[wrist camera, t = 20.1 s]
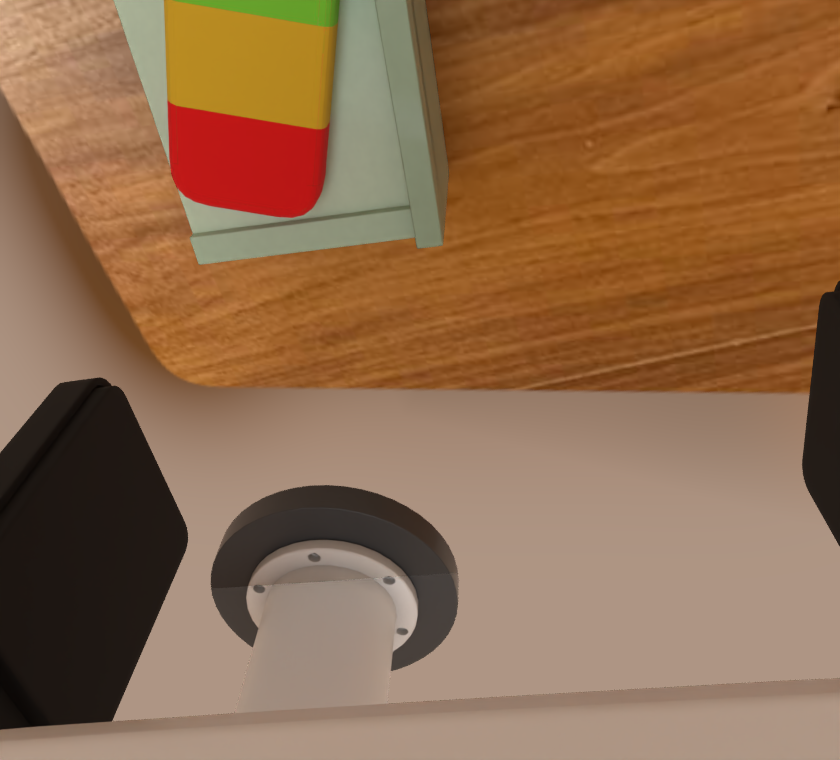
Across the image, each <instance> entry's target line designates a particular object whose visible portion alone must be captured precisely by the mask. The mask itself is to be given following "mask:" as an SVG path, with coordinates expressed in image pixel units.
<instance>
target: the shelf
mask: <svg viewBox="0 0 840 760" xmlns="http://www.w3.org/2000/svg"><path fill="white" fill-rule="evenodd" d="M114 3H115V6H116V9H117V12H118V15H119V18H120V21H121V24H122V27H123V30H124V32H125V35H126V38H127V41H128V44H129V47H130V50H131V53H132V56H133V59H134V62H135V65H136V68H137V71H138V74H139V77H140V80H141V83H142V85H143V88H144V91H145V94H146V97H147V100H148V103H149V106H150V109H151V112H152V115H153V118H154V121H155V124H156V127H157V130H158V133H159V136H160V138H161V141H162V144H163V147H164V150H165V153H166V156H167V159H168V162H169V165H170V161H169V135H168V106H167V78H166V49H165V21H164V0H114ZM170 168H171V167H170ZM448 179H449V168H448V160H447V153H446V146H445V139H444V132H443V124H442V117H441V110H440V103H439V95H438V88H437V81H436V74H435V66H434V59H433V52H432V45H431V38H430V30H429V23H428V16H427V9H426V1H425V0H340V4H339V16H338V28H337V41H336V53H335V65H334V77H333V89H332V101H331V114H330V126H329V138H328V150H327V162H326V175H325V180H324V185H323V190H322V193H321V195H320V197H319V199H318V200H317V202H316V204H315V206H314V207H313V208H312V209H311V210H310V211H309V212H307V213H306V214H304V215H302V216H298V217H294V218H285V217H274V216H267V215H261V214H255V213H249V212H243V211H237V210H231V209H225V208H218V207H212V206H208V205H204V204H200V203H197V202H194V201H192V200H191V199H189V198H187V197H185V196H184V195H183V194H182V193H181V192H180V191H179V189H178V188H177V189H178V191H179V194H180V197H181V200H182V203H183V206H184V209H185V212H186V215H187V218H188V221H189V224H190V227H191V230H192V233H193V234H192V236H191V237H190V240H191V243H192V246H193V249H194V252H195V255H196V258H197V261H198V264H199V265H201V264H209V263H217V262H225V261H233V260H241V259H249V258H257V257H265V256H273V255H281V254H289V253H297V252H305V251H313V250H321V249H329V248H337V247H345V246H353V245H361V244H369V243H377V242H385V241H393V240H400V239H408V238H415V240H416V246H417V248H418V249H419V248H427V247H435V246H442V245H443V239H444V227H445V215H446V203H447V191H448Z"/></svg>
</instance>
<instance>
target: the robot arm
mask: <svg viewBox="0 0 840 760" xmlns="http://www.w3.org/2000/svg"><path fill="white" fill-rule="evenodd" d="M802 468H803V476H804V480H805V483H806V486H807V489H808V491H809V493H810V495H811V496H812V498H813V500H814V502H815V503H816V505H817V507H818V509H819V511H820V512H821V514H822V516H823V518H824V519H825V521H826V523H827V525H828V526H829V528H830V530H831V532H832V534H833V535H834V537H835V539H836V541H837V543H838V544H839V546H840V281H839V282H838V283H837V285H836V287H835V291H834V292H826V293H824V294H823V295H822V298H821V300H820V305H819V313H818V322H817V331H816V341H815V350H814V359H813V368H812V377H811V386H810V396H809V405H808V414H807V423H806V433H805V442H804V451H803V460H802ZM187 543H188V532H187V527H186V524H185V522H184V519H183V517H182V515H181V513H180V511H179V509H178V507H177V504H176V502H175V500H174V498H173V496H172V494H171V492H170V490H169V488H168V485H167V483H166V481H165V479H164V477H163V475H162V473H161V470H160V468H159V466H158V464H157V462H156V460H155V458H154V455H153V453H152V451H151V449H150V447H149V445H148V443H147V441H146V438H145V436H144V434H143V432H142V430H141V428H140V426H139V424H138V421H137V419H136V417H135V415H134V413H133V411H132V409H131V407H130V404H129V402H128V400H127V398H126V396H125V394H124V392H123V391H122V390H121V389H120V388H119V387H117V386H111V384H110V383H109V382H108V381H107V380H105V379H103V378H93V379H86V380H78V381H70V382H64V383H60V384H59V385H57V386H56V387H55V388H54V389H53V390H52V392H51V393H50V394H49V395H48V397H47V398H46V399H45V400H44V401H43V402H42V404H41V405H40V406H39V407H38V408H37V410H36V411H35V412H34V413H33V414H32V416H31V417H30V418H29V419H28V420H27V422H26V423H25V424H24V425H23V426H22V428H21V429H20V430H19V431H18V432H17V434H16V435H15V436H14V437H13V438H12V439H11V441H10V442H9V443H8V444H7V446H6V447H5V448H4V449H3V450H2V451H1V453H0V760H840V678H835V679H811V680H789V681H771V682H754V683H735V684H718V685H701V686H683V687H664V688H648V689H647V688H646V689H628V690H610V691H593V692H576V693H557V694H539V695H522V696H506V697H489V698H474V699H456V700H440V701H423V702H407V703H391V704H387V702H388V701H387V700H388V692H389V682H390V673H391V664H392V654H393V651H395V650H396V649H397V648H399V647H400V646H402V645H403V644H404V643H405V642H406V641H407V639H408V638H409V637H410V636H411V634H412V632H413V630H414V628H415V626H416V622H417V617H418V598H417V593H416V590H415V588H414V586H413V584H412V582H411V580H410V579H409V577H408V576H407V575H406V574H405V573H404V571H403V570H402V569H401V568H400V567H399V566H397V565H396V564H395V563H394V562H392V561H391V560H390V559H388V558H386V557H385V556H383V555H381V554H380V553H378V552H376V551H374V550H371V549H368V548H366V547H363V546H361V545H357V544H353V543H349V542H344V541H335V540H309V541H303V542H298V543H293V544H290V545H288V546H285V547H282V548H279V549H278V550H276V551H274V552H273V553H271V554H269V555H268V556H267V557H266V558H264V559H263V560H262V561H261V562H260V563H259V564H258V566H257V567H256V569H255V570H254V572H253V574H252V576H251V579H250V582H249V585H248V589H247V596H246V600H247V607H248V611H249V613H250V616H251V618H252V620H253V621H254V623H255V624H256V626H257V627H258V632H257V635H256V639H255V642H254V646H253V649H252V653H251V656H250V660H249V663H248V667H247V670H246V674H245V677H244V681H243V684H242V688H241V691H240V695H239V698H238V702H237V705H236V709H235V712H234V713H232V714H217V715H203V716H187V717H172V718H159V719H144V720H128V721H113V722H112V720H113V718H114V715H115V713H116V711H117V708H118V706H119V704H120V701H121V699H122V696H123V694H124V692H125V690H126V688H127V685H128V683H129V680H130V678H131V676H132V674H133V671H134V669H135V667H136V664H137V662H138V660H139V657H140V655H141V653H142V650H143V648H144V646H145V644H146V641H147V639H148V636H149V634H150V632H151V630H152V627H153V625H154V623H155V620H156V618H157V616H158V614H159V611H160V609H161V606H162V604H163V601H164V600H165V597H166V595H167V593H168V590H169V588H170V586H171V583H172V581H173V579H174V576H175V574H176V572H177V569H178V567H179V565H180V563H181V560H182V558H183V556H184V553H185V551H186V547H187Z"/></svg>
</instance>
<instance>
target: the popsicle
mask: <svg viewBox="0 0 840 760" xmlns="http://www.w3.org/2000/svg"><path fill="white" fill-rule="evenodd" d="M339 4H340V0H164V21H165V49H166V78H167V106H168V135H169V161H170V167H171V174H172V177H173V180H174V182H175V184H176V187H177V188H178V189H179V191H180V192H181V193H182V194H183V195H184V196H185V197H187V198H189V199H191V200H192V201H194V202H197V203H200V204H204V205H208V206H212V207H218V208H225V209H231V210H237V211H243V212H249V213H255V214H261V215H267V216H274V217H285V218H294V217H298V216H302V215H304V214H306V213H307V212H309V211H310V210H311V209H312V208H313V207H314V206H315V204H316V202H317V200H318V199H319V197H320V195H321V193H322V190H323V185H324V180H325V175H326V162H327V150H328V138H329V126H330V114H331V101H332V89H333V77H334V65H335V53H336V41H337V28H338V16H339Z"/></svg>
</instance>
